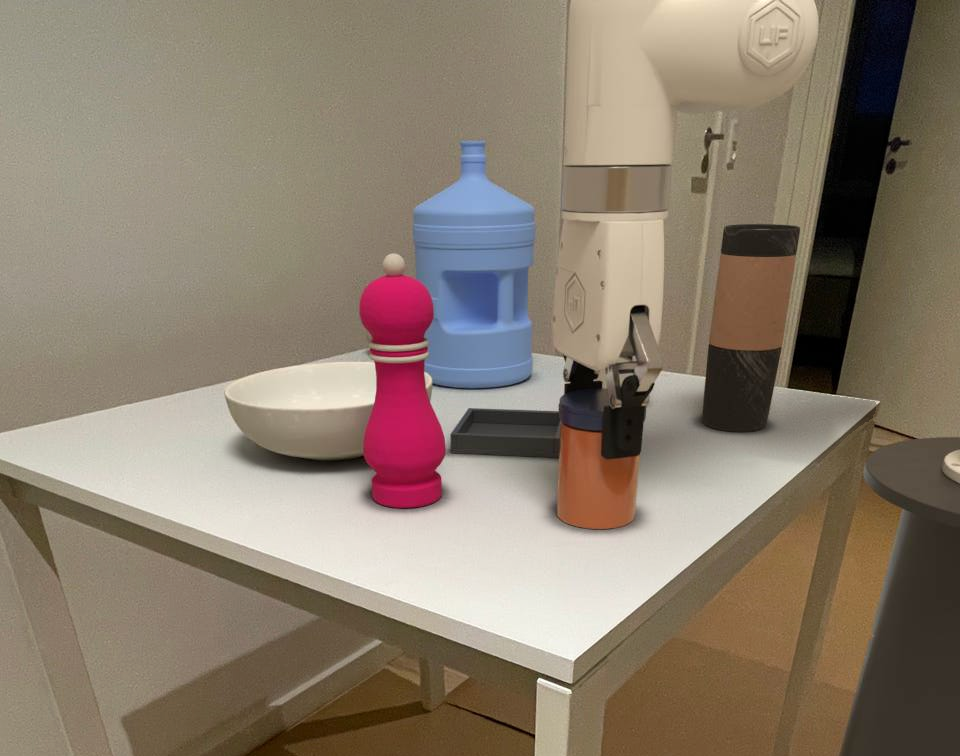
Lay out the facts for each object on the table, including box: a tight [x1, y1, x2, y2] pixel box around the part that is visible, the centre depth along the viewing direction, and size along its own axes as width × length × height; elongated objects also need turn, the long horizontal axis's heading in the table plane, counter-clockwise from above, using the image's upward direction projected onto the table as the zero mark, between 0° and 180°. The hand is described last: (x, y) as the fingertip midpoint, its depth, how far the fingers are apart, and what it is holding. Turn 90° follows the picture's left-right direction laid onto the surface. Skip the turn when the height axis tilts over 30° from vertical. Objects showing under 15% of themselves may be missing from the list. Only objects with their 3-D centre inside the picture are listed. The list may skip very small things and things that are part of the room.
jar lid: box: [558, 388, 647, 430], centre depth 67 cm, size 7×7×2 cm
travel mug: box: [701, 223, 801, 433], centre depth 90 cm, size 8×8×20 cm
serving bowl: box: [223, 361, 434, 461], centre depth 87 cm, size 21×21×7 cm
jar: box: [556, 420, 641, 530], centre depth 69 cm, size 7×7×9 cm
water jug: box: [412, 140, 536, 389], centre depth 109 cm, size 16×16×28 cm
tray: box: [450, 407, 560, 459], centre depth 90 cm, size 11×10×2 cm
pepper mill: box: [358, 253, 447, 509], centre depth 71 cm, size 7×7×20 cm
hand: (600, 441), depth 68 cm, fingers closed on jar lid, 6 cm apart
